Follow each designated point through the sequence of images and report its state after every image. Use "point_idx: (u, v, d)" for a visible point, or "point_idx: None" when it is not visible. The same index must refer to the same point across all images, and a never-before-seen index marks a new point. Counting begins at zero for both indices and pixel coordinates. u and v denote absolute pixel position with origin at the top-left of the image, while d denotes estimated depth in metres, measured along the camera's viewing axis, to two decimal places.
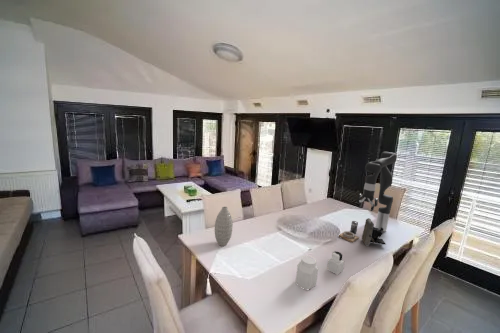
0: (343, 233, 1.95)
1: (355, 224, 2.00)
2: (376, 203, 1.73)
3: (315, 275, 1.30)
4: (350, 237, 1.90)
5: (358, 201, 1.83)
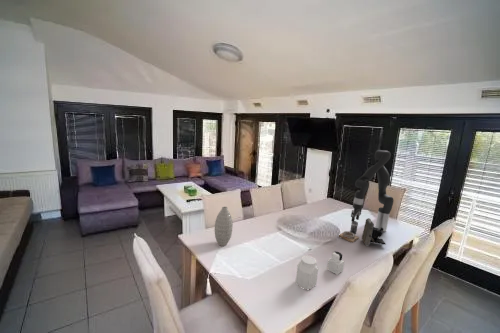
0: (343, 233, 1.95)
1: (355, 224, 2.00)
2: (360, 211, 2.05)
3: (315, 275, 1.30)
4: (350, 237, 1.90)
5: (353, 217, 1.97)
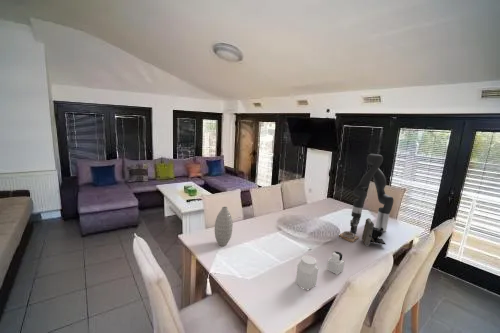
0: (343, 233, 1.95)
1: None
2: None
3: (315, 275, 1.30)
4: (350, 237, 1.90)
5: (352, 226, 2.00)
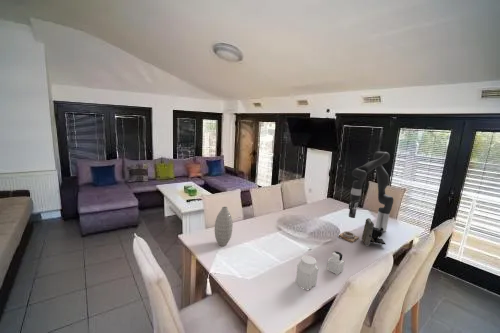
0: (343, 233, 1.95)
1: None
2: (358, 204, 1.93)
3: (315, 275, 1.30)
4: (350, 237, 1.90)
5: (351, 209, 1.86)
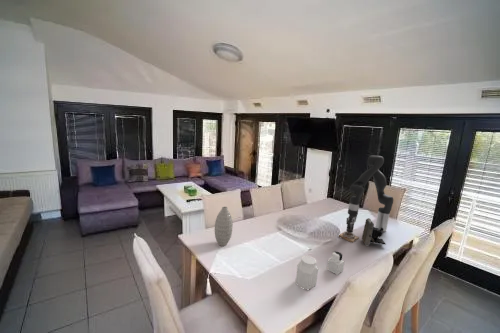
0: (343, 233, 1.95)
1: None
2: (355, 219, 1.95)
3: (315, 275, 1.30)
4: (350, 237, 1.90)
5: (349, 224, 1.88)
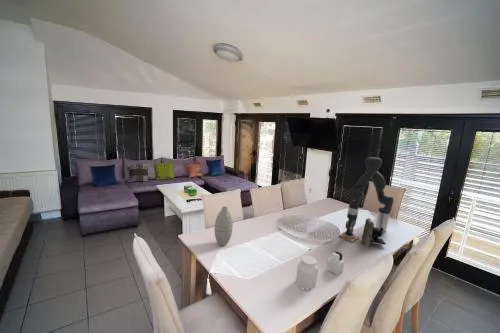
0: (343, 233, 1.95)
1: (351, 227, 1.90)
2: (355, 222, 1.96)
3: (315, 275, 1.30)
4: (350, 237, 1.90)
5: (348, 228, 1.89)
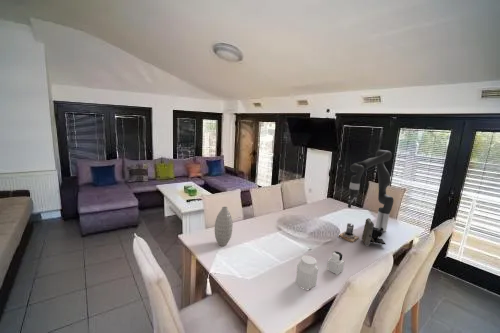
0: (343, 233, 1.95)
1: (351, 227, 1.90)
2: None
3: (315, 275, 1.30)
4: (350, 237, 1.90)
5: (349, 203, 1.90)
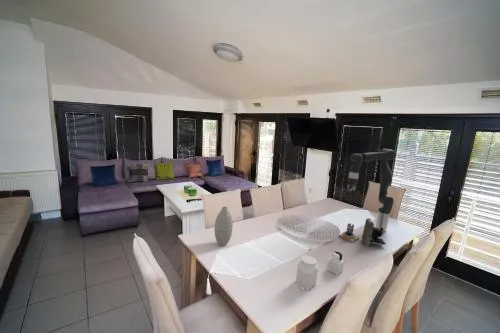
0: (343, 233, 1.95)
1: (351, 227, 1.90)
2: (356, 187, 2.03)
3: (315, 275, 1.30)
4: (350, 237, 1.90)
5: (348, 191, 1.95)
